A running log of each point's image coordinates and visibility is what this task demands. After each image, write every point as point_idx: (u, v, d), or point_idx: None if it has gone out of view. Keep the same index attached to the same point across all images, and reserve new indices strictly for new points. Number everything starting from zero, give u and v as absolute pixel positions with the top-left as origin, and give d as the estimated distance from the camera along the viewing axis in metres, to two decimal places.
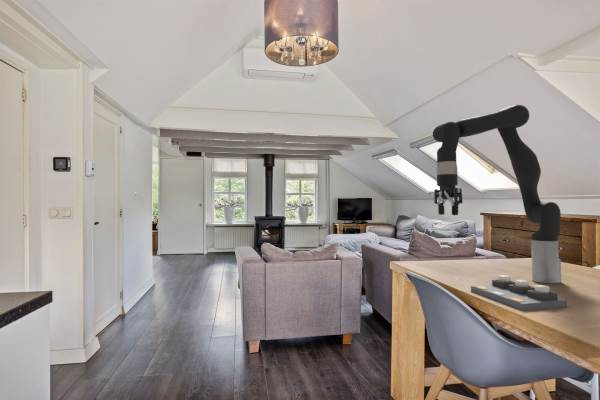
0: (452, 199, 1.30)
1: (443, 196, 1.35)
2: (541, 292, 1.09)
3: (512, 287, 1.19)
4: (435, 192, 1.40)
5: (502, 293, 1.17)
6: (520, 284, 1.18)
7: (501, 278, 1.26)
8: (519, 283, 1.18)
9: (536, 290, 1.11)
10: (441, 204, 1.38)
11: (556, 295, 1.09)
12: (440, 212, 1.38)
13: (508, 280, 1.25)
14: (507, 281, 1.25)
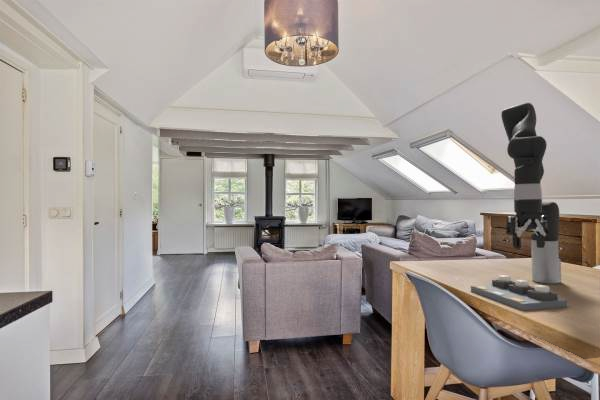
0: None
1: (528, 225, 1.10)
2: (541, 292, 1.09)
3: (512, 287, 1.19)
4: (514, 220, 1.09)
5: (502, 293, 1.17)
6: (520, 284, 1.18)
7: (501, 278, 1.26)
8: (519, 283, 1.18)
9: (536, 290, 1.11)
10: None
11: (556, 295, 1.09)
12: None
13: (508, 280, 1.25)
14: (507, 281, 1.25)
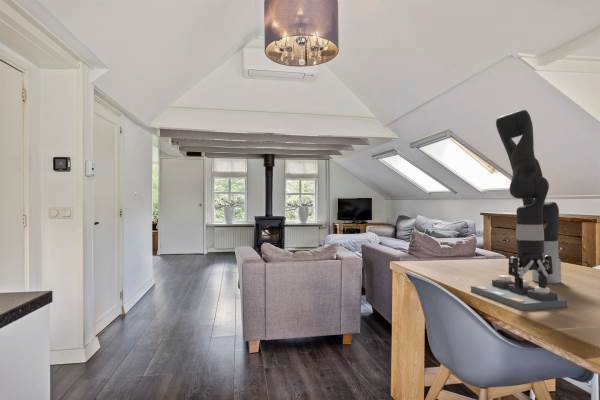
0: None
1: (530, 266, 1.09)
2: (541, 293, 1.09)
3: (512, 287, 1.19)
4: (516, 261, 1.08)
5: (502, 293, 1.17)
6: None
7: (501, 278, 1.26)
8: None
9: (536, 291, 1.11)
10: None
11: (556, 295, 1.09)
12: None
13: (508, 280, 1.25)
14: (507, 281, 1.25)
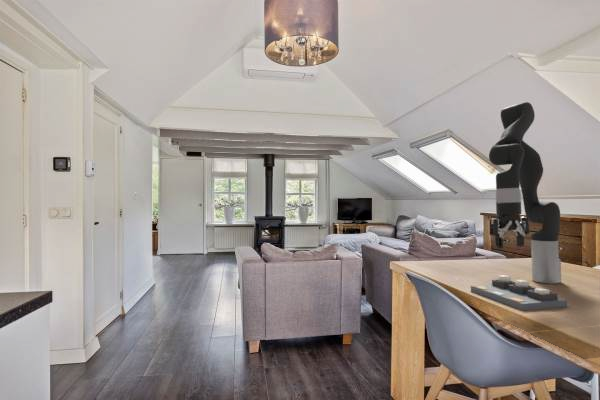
0: None
1: (509, 226, 1.19)
2: None
3: (512, 287, 1.19)
4: (496, 222, 1.17)
5: (502, 293, 1.17)
6: (520, 284, 1.18)
7: (501, 278, 1.26)
8: (519, 283, 1.18)
9: None
10: None
11: (556, 295, 1.09)
12: None
13: (508, 280, 1.25)
14: (507, 281, 1.25)
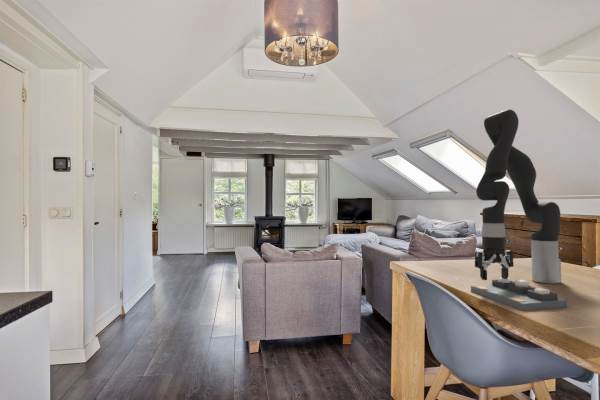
0: None
1: (493, 260, 1.25)
2: None
3: (512, 287, 1.19)
4: (481, 255, 1.24)
5: (502, 293, 1.17)
6: (520, 284, 1.18)
7: (501, 280, 1.26)
8: (519, 283, 1.18)
9: None
10: None
11: (556, 295, 1.09)
12: None
13: (508, 282, 1.25)
14: None
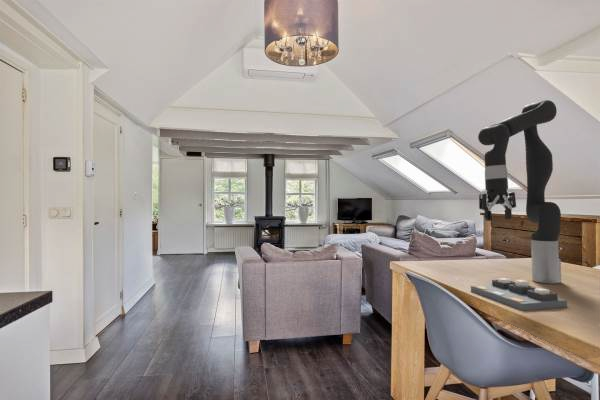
0: None
1: (497, 201, 1.29)
2: None
3: (512, 287, 1.19)
4: (485, 197, 1.28)
5: (502, 293, 1.17)
6: (520, 284, 1.18)
7: (501, 281, 1.26)
8: (519, 283, 1.18)
9: None
10: None
11: (556, 295, 1.09)
12: None
13: None
14: None
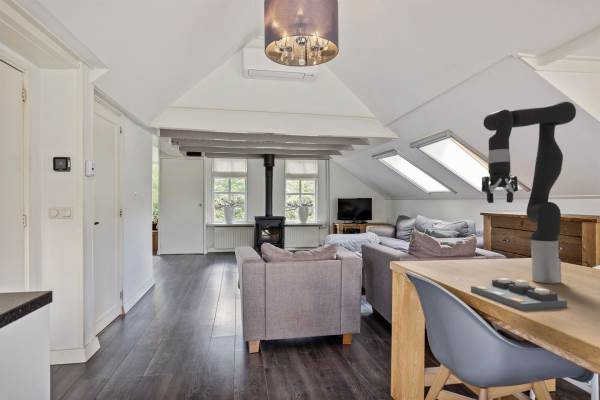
0: None
1: (499, 184, 1.34)
2: None
3: (512, 287, 1.19)
4: (487, 179, 1.33)
5: (502, 293, 1.17)
6: (520, 284, 1.18)
7: (501, 281, 1.26)
8: (519, 283, 1.18)
9: None
10: None
11: (556, 295, 1.09)
12: None
13: None
14: None
